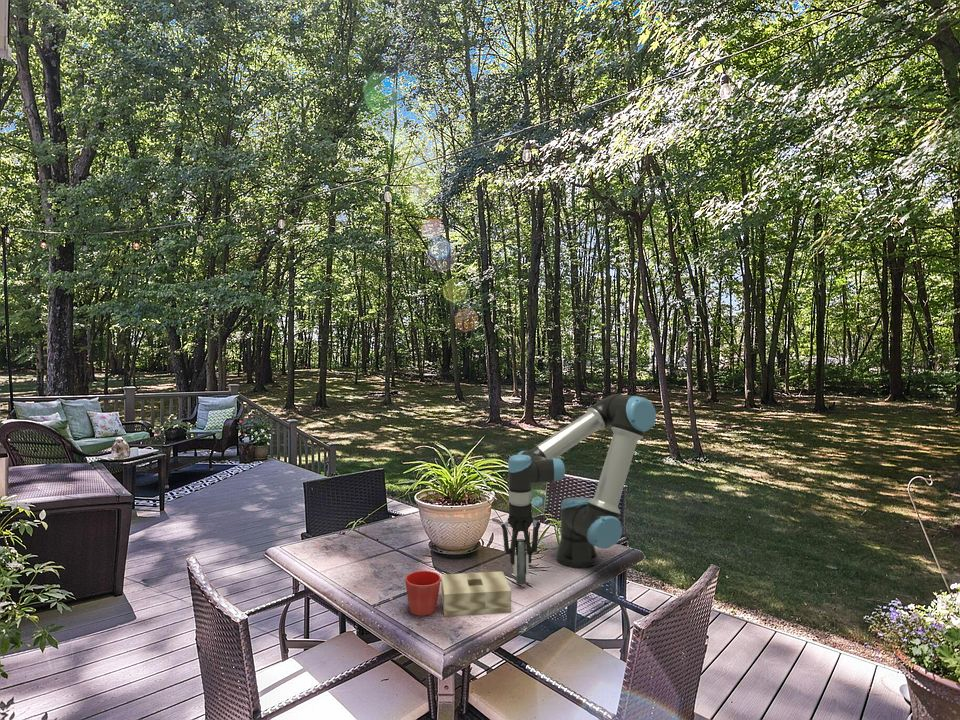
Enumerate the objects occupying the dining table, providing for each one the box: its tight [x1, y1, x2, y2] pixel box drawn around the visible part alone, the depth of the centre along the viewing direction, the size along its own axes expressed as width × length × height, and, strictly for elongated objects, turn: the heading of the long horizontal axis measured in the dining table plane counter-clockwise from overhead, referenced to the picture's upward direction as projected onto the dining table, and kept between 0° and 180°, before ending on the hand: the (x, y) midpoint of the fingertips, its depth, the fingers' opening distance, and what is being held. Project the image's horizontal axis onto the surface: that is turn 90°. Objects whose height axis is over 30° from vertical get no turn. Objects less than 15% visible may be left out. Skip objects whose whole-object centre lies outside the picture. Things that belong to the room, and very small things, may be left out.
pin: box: [515, 538, 527, 586], centre depth 173 cm, size 3×3×14 cm
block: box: [440, 570, 512, 617], centre depth 162 cm, size 20×14×6 cm
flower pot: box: [405, 570, 441, 616], centre depth 158 cm, size 11×11×10 cm
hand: (520, 573), depth 174 cm, fingers closed on pin, 3 cm apart
